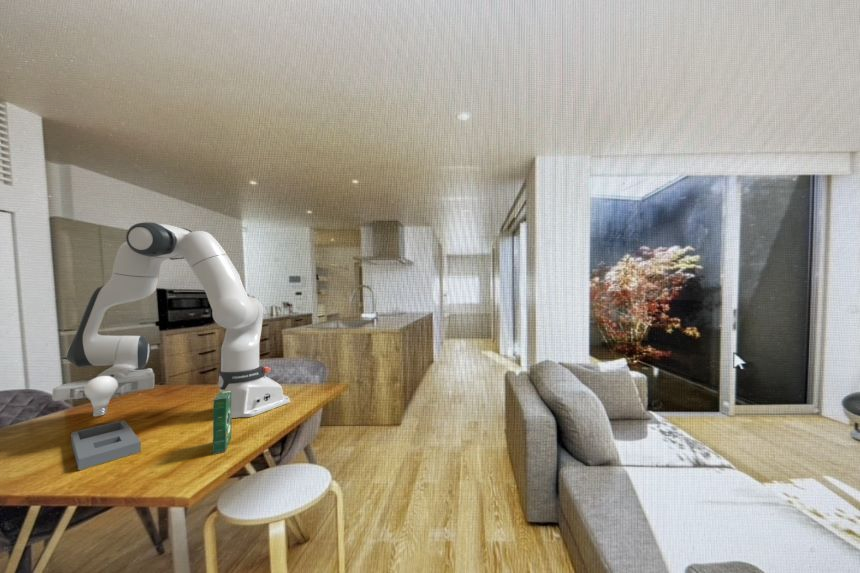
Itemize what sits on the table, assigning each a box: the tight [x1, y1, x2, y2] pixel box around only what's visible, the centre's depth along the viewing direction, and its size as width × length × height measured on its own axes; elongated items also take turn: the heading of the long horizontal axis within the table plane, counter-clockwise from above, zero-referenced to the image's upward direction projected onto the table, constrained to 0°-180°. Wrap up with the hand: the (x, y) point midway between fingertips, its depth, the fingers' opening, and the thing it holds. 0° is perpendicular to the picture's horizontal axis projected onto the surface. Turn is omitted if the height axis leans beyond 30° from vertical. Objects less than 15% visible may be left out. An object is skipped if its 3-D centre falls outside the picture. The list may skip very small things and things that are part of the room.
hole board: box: [70, 419, 142, 471], centre depth 77 cm, size 10×24×2 cm, turn 53°
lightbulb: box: [84, 376, 118, 418], centre depth 81 cm, size 6×6×11 cm
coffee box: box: [212, 391, 232, 455], centre depth 76 cm, size 8×3×13 cm, turn 25°
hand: (99, 393), depth 81 cm, fingers closed on lightbulb, 6 cm apart
